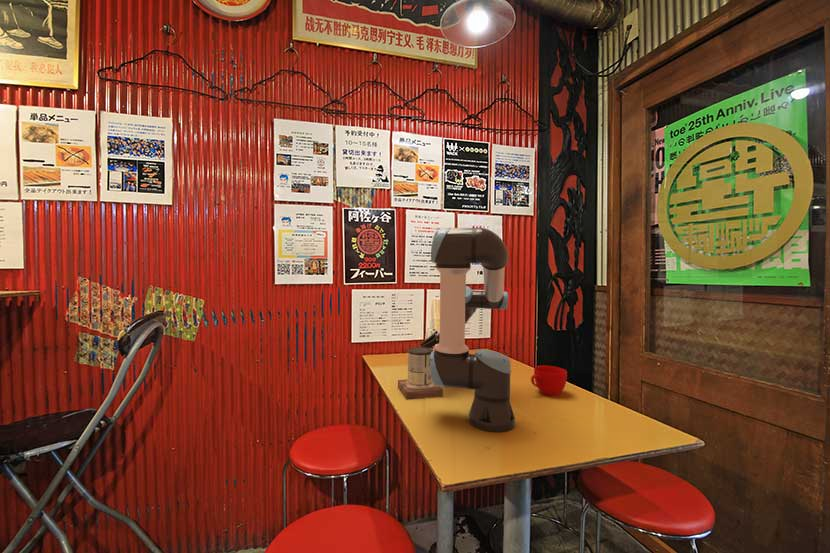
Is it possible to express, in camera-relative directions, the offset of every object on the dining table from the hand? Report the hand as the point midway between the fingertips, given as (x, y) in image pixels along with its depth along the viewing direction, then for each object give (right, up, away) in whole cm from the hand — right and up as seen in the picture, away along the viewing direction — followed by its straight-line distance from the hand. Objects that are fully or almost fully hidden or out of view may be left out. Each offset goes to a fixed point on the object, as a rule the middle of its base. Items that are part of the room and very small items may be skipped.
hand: (423, 364), depth 149 cm
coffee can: (-2, -8, -1) cm, 8 cm away
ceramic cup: (+51, -12, -1) cm, 53 cm away
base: (-2, -11, -1) cm, 11 cm away
